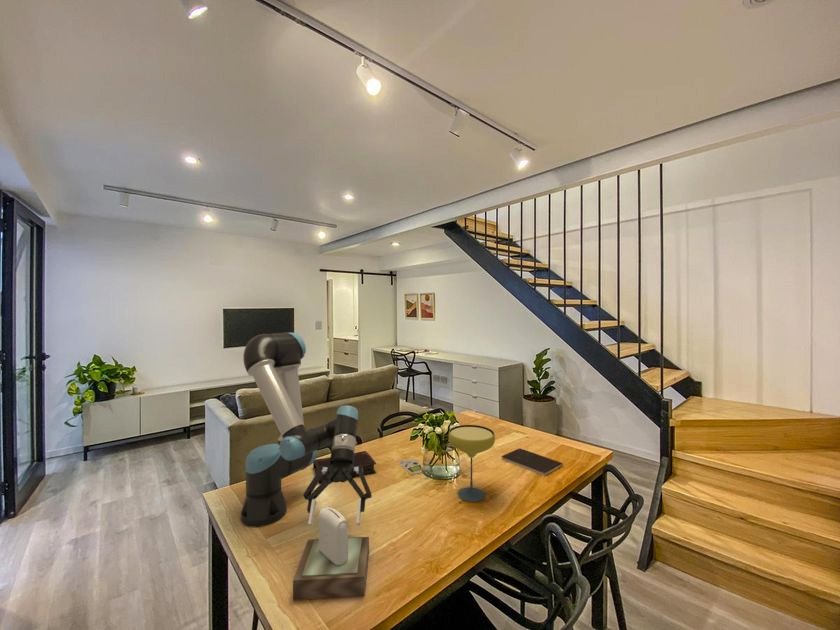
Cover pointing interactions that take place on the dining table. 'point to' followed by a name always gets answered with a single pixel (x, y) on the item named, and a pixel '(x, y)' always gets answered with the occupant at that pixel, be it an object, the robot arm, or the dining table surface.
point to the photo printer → (333, 535)
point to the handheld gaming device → (415, 464)
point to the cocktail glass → (471, 452)
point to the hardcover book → (532, 461)
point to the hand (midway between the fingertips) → (334, 524)
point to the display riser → (332, 572)
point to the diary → (359, 459)
